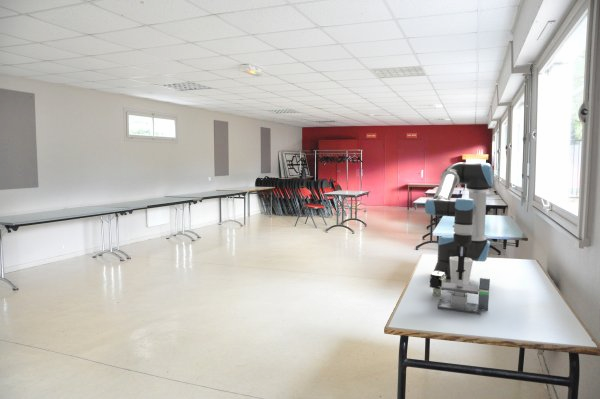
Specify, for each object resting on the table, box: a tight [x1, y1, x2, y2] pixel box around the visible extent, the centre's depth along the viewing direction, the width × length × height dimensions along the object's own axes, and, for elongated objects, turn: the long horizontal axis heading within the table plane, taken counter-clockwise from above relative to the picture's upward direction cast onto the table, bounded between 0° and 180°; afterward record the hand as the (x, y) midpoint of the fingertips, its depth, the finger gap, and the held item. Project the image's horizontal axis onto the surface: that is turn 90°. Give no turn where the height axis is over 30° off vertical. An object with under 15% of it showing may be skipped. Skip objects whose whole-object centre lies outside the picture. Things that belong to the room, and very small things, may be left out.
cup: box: [450, 256, 474, 292], centre depth 210 cm, size 11×10×17 cm
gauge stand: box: [437, 277, 491, 315], centre depth 188 cm, size 20×11×14 cm, turn 68°
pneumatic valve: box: [429, 271, 447, 298], centre depth 205 cm, size 6×12×12 cm, turn 148°
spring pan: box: [441, 281, 490, 296], centre depth 188 cm, size 19×9×6 cm, turn 68°
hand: (459, 286), depth 188 cm, fingers closed
